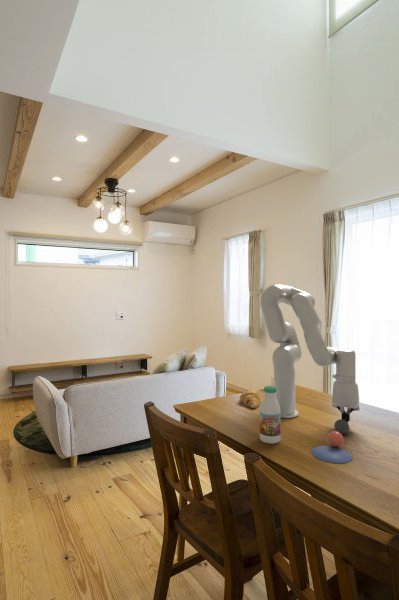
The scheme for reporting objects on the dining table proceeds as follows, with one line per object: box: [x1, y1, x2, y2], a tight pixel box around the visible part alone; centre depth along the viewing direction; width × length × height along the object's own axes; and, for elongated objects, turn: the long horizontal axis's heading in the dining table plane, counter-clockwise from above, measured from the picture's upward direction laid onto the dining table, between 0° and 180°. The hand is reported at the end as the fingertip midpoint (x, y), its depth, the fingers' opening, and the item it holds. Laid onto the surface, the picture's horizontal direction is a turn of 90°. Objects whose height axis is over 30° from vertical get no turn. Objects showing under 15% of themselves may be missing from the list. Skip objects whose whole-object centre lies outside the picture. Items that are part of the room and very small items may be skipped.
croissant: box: [239, 389, 261, 409], centre depth 177 cm, size 21×10×8 cm, turn 4°
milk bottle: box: [259, 385, 282, 445], centre depth 131 cm, size 8×8×20 cm
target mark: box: [311, 445, 353, 465], centre depth 119 cm, size 13×13×1 cm
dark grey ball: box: [333, 418, 350, 435], centre depth 137 cm, size 6×6×6 cm
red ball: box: [326, 430, 345, 448], centre depth 125 cm, size 6×6×6 cm
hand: (345, 422), depth 145 cm, fingers closed
